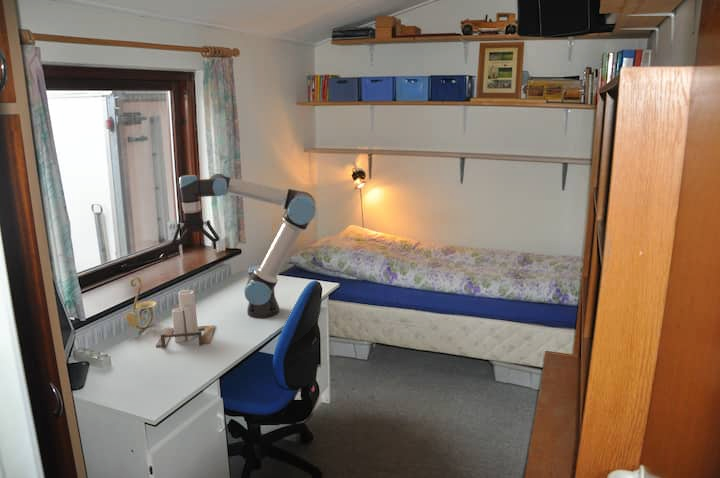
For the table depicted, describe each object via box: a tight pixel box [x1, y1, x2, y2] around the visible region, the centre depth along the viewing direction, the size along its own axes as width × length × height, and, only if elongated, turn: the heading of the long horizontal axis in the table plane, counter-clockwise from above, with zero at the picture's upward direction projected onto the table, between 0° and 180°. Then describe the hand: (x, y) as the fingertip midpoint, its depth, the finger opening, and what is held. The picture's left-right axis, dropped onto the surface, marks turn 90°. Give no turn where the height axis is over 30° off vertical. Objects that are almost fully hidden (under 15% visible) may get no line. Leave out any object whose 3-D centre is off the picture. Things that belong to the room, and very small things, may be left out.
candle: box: [171, 289, 198, 344], centre depth 243 cm, size 11×7×20 cm, turn 162°
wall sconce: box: [125, 276, 157, 330], centre depth 253 cm, size 14×10×25 cm
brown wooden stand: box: [155, 325, 216, 349], centre depth 245 cm, size 22×19×6 cm
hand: (198, 258), depth 249 cm, fingers open, 13 cm apart
